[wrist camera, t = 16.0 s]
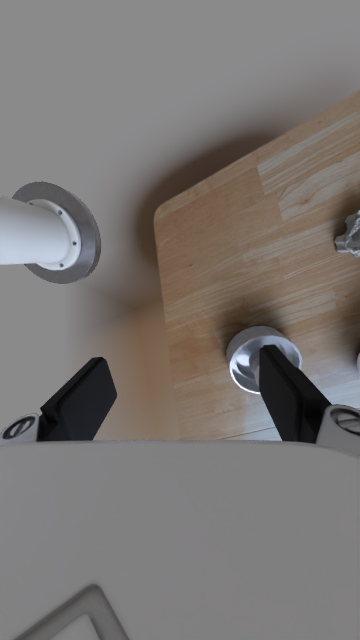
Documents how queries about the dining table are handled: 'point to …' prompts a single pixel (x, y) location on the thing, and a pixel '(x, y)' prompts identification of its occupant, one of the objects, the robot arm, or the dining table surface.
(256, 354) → the light bulb
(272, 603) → the robot arm
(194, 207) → the dining table surface
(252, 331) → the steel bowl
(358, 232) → the egg carton
